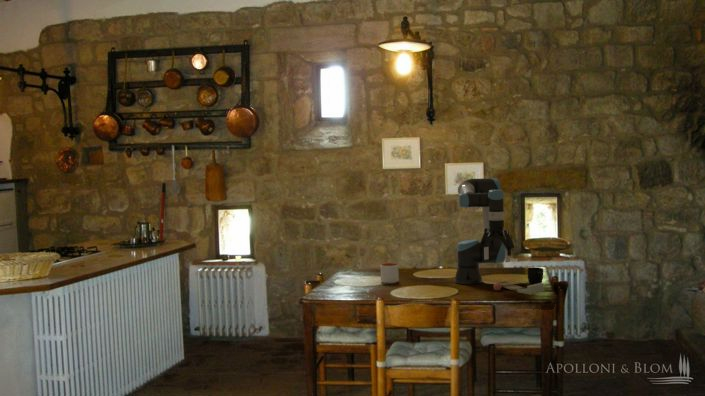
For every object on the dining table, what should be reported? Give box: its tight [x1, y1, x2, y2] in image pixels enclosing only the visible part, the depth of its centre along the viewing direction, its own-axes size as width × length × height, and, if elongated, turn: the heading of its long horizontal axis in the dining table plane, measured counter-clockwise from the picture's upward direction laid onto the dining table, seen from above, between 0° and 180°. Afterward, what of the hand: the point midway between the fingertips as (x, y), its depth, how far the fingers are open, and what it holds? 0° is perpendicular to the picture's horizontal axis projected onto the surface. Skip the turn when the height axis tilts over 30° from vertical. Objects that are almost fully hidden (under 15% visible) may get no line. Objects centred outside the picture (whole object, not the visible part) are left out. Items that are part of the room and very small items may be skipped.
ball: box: [493, 282, 502, 292], centre depth 350 cm, size 4×4×4 cm
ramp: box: [498, 280, 527, 292], centre depth 354 cm, size 15×7×3 cm, turn 40°
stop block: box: [516, 282, 544, 295], centre depth 345 cm, size 8×11×4 cm
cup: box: [379, 262, 399, 284], centre depth 381 cm, size 10×10×10 cm
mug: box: [526, 266, 544, 286], centre depth 356 cm, size 8×12×10 cm
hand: (496, 260), depth 349 cm, fingers open, 13 cm apart
